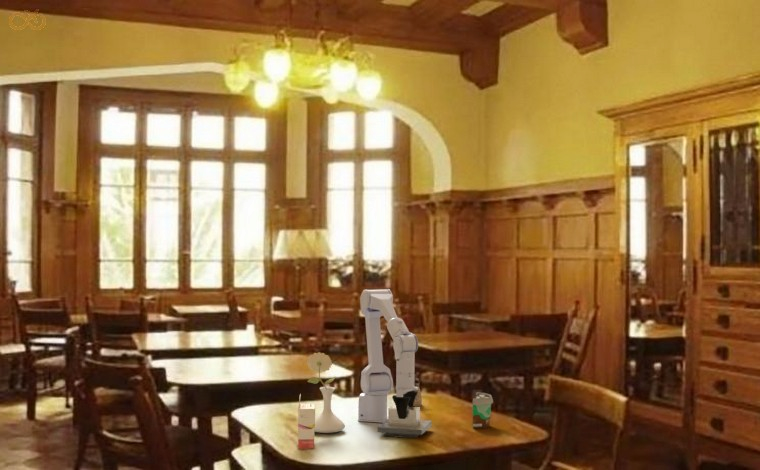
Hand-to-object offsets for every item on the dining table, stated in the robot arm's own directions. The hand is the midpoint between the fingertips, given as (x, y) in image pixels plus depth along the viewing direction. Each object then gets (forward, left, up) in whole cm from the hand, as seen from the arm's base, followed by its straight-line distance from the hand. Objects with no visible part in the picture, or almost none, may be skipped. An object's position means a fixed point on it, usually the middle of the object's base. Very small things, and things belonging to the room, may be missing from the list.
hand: (405, 416), depth 266 cm
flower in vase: (-25, -5, -6) cm, 26 cm away
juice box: (-24, -24, -6) cm, 34 cm away
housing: (0, 0, -2) cm, 2 cm away
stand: (0, 0, -5) cm, 5 cm away
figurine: (-9, +46, -6) cm, 47 cm away
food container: (+22, +18, -6) cm, 29 cm away
